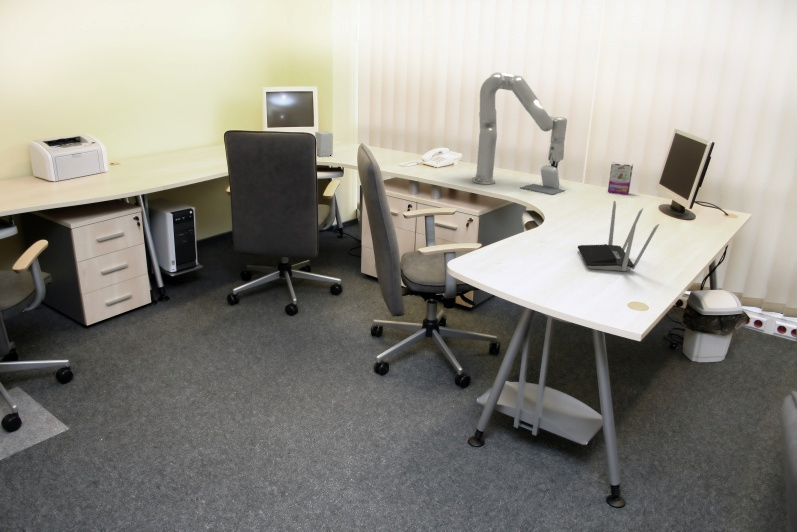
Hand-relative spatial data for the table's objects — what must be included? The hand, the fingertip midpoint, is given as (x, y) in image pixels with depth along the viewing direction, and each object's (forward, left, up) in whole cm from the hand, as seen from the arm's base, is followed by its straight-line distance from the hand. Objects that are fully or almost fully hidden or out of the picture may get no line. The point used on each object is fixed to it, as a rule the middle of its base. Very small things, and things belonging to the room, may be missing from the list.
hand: (553, 172), depth 368 cm
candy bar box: (+17, -32, -8) cm, 37 cm away
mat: (-11, 0, -8) cm, 13 cm away
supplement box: (-39, +146, -8) cm, 151 cm away
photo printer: (-1, 0, -8) cm, 8 cm away
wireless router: (-98, -79, -8) cm, 126 cm away
